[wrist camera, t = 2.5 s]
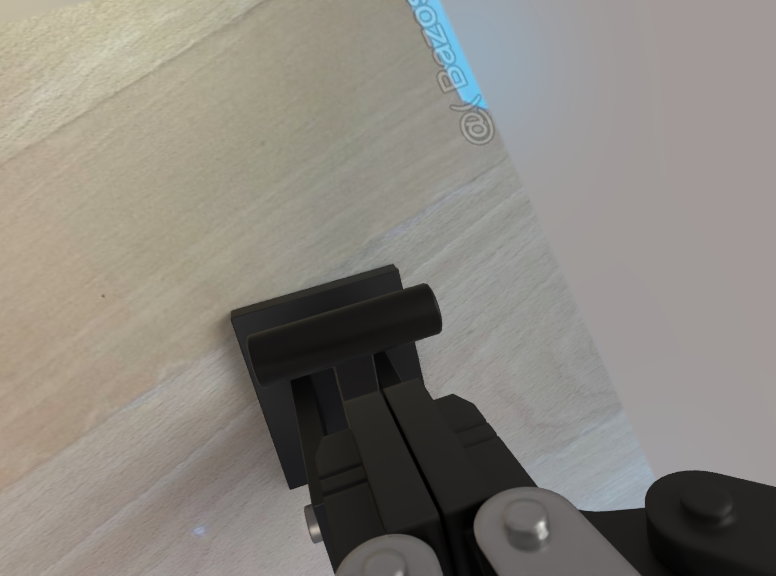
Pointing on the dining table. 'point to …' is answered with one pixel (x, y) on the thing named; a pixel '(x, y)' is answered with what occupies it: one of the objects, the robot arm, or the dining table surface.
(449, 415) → the robot arm
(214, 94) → the dining table surface
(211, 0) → the dining table surface
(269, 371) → the lever
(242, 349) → the bracket
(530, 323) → the dining table surface
